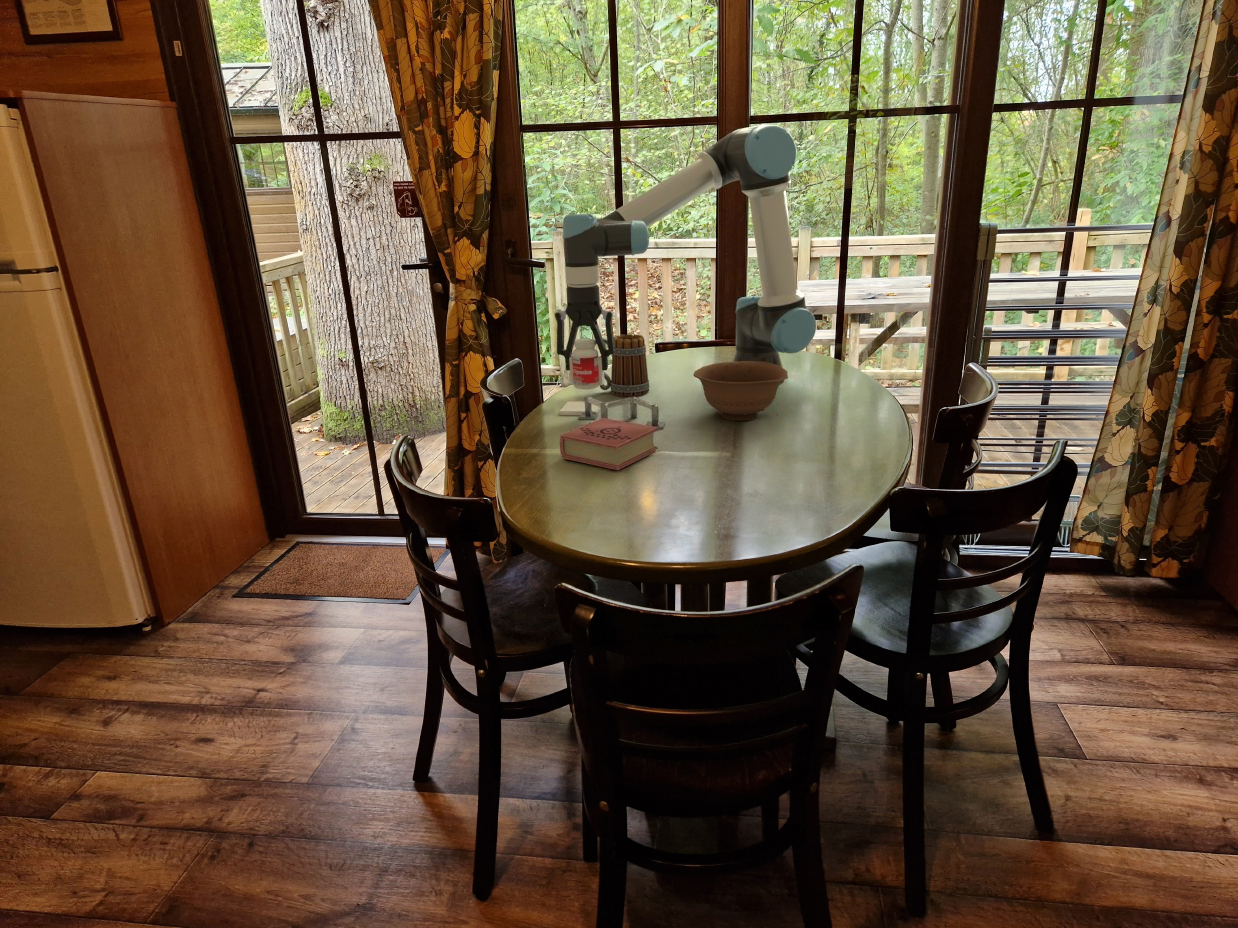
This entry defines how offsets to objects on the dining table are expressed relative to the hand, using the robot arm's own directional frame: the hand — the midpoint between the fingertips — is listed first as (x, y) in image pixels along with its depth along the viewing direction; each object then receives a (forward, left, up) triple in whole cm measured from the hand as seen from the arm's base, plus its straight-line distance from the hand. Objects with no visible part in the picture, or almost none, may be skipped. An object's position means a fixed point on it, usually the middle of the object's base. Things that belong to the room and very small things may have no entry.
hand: (587, 383), depth 187 cm
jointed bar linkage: (-9, +3, -8) cm, 12 cm away
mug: (-4, -24, -9) cm, 26 cm away
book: (-9, +26, -9) cm, 29 cm away
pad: (+3, -6, -8) cm, 11 cm away
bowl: (-36, -3, -9) cm, 37 cm away
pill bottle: (0, +1, -1) cm, 1 cm away
